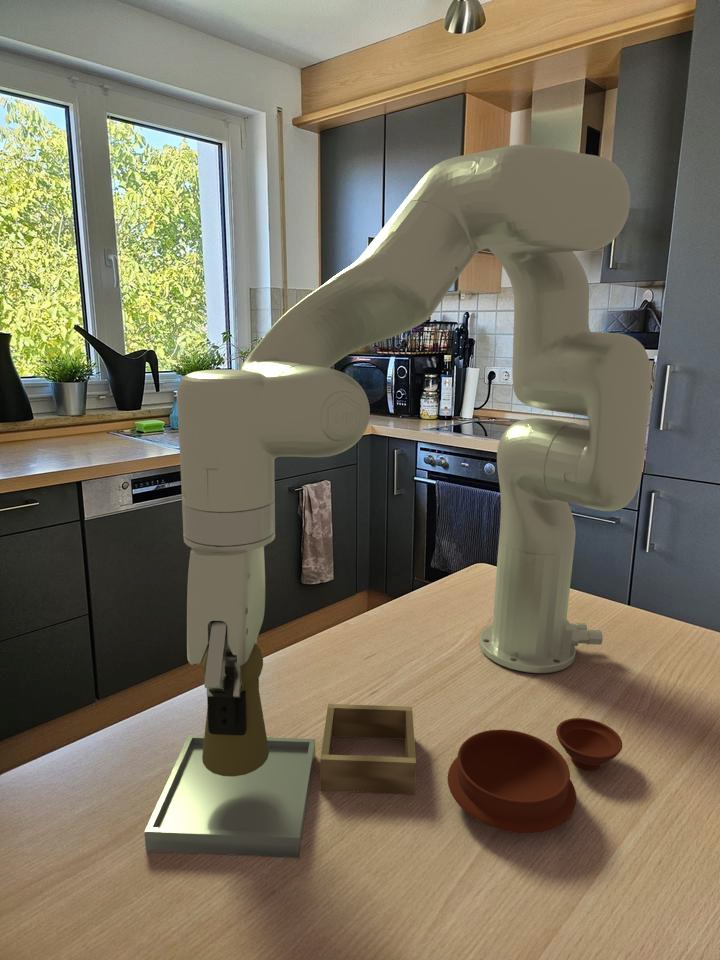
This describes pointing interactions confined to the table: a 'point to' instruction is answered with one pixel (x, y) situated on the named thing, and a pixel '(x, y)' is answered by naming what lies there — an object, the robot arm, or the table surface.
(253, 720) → the olive pawn
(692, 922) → the table surface
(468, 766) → the pottery
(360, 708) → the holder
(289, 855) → the tray
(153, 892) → the table surface
